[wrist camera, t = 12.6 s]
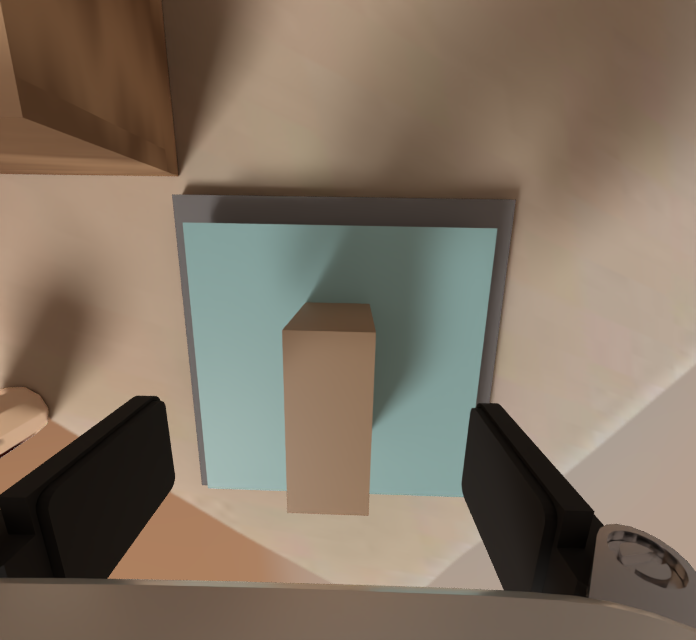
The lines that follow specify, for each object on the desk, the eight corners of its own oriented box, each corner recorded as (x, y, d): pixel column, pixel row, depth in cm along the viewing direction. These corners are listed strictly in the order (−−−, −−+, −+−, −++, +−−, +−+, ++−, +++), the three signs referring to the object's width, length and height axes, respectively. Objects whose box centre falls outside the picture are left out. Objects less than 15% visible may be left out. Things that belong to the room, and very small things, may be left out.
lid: (203, 224, 16) (94, 211, 10) (480, 230, 16) (571, 220, 9) (222, 464, 20) (152, 580, 13) (453, 471, 19) (506, 595, 13)
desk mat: (180, 196, 17) (172, 194, 16) (508, 201, 17) (515, 199, 16) (207, 476, 21) (202, 485, 20) (472, 484, 20) (477, 494, 20)
